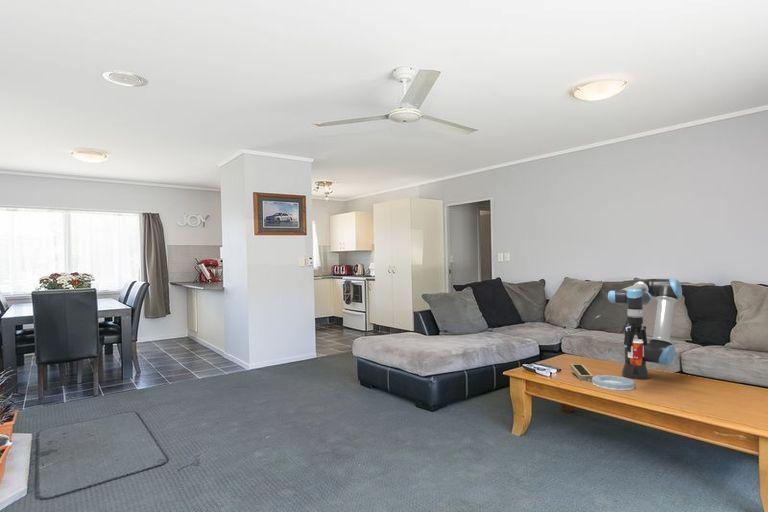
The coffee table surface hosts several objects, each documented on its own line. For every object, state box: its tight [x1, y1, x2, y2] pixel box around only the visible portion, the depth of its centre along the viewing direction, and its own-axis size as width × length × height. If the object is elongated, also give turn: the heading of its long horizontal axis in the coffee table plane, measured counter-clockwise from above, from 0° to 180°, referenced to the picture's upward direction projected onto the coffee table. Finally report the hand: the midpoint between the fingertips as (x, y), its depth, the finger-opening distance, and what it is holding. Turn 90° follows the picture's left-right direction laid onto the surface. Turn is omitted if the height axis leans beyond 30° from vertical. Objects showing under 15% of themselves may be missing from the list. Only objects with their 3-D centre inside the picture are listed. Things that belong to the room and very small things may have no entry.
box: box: [569, 363, 594, 383], centre depth 275 cm, size 8×22×5 cm, turn 177°
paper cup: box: [629, 338, 644, 366], centre depth 247 cm, size 8×8×14 cm
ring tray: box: [591, 374, 636, 391], centre depth 257 cm, size 22×22×3 cm
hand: (635, 356), depth 247 cm, fingers closed on paper cup, 8 cm apart
